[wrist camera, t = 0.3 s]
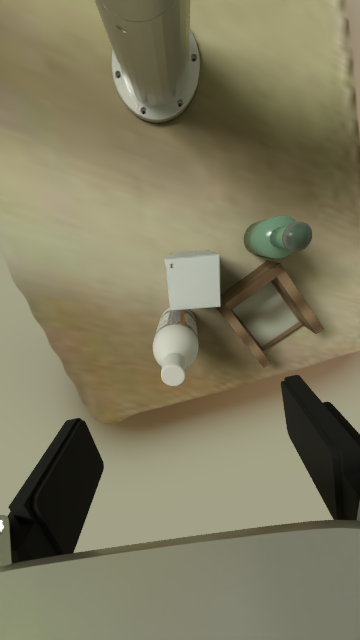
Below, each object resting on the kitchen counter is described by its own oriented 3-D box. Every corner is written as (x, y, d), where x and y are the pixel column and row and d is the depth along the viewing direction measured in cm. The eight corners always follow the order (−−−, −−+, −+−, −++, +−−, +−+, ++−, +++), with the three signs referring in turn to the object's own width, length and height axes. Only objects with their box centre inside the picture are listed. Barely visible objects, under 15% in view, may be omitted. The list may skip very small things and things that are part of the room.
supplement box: (172, 293, 45) (168, 311, 33) (169, 252, 43) (163, 256, 31) (211, 290, 45) (221, 308, 33) (210, 249, 43) (220, 252, 31)
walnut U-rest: (213, 300, 46) (217, 309, 40) (267, 260, 43) (279, 263, 37) (254, 353, 49) (263, 367, 43) (306, 318, 46) (324, 328, 41)
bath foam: (202, 327, 47) (213, 384, 28) (173, 344, 49) (165, 409, 30) (183, 298, 46) (182, 338, 27) (153, 316, 47) (132, 367, 28)
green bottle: (237, 235, 42) (264, 233, 28) (264, 214, 41) (307, 199, 27) (255, 261, 43) (289, 271, 29) (282, 240, 42) (331, 240, 28)
